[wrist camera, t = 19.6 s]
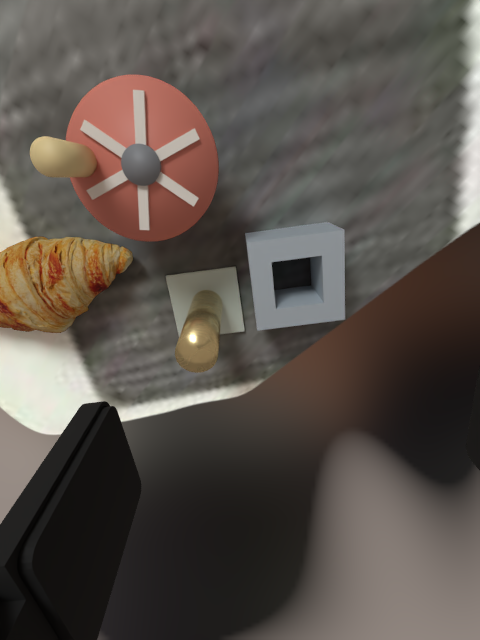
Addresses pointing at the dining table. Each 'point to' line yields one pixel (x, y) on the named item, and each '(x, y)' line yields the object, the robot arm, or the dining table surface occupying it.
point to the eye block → (306, 301)
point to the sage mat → (214, 280)
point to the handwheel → (136, 158)
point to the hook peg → (200, 333)
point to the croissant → (55, 280)
